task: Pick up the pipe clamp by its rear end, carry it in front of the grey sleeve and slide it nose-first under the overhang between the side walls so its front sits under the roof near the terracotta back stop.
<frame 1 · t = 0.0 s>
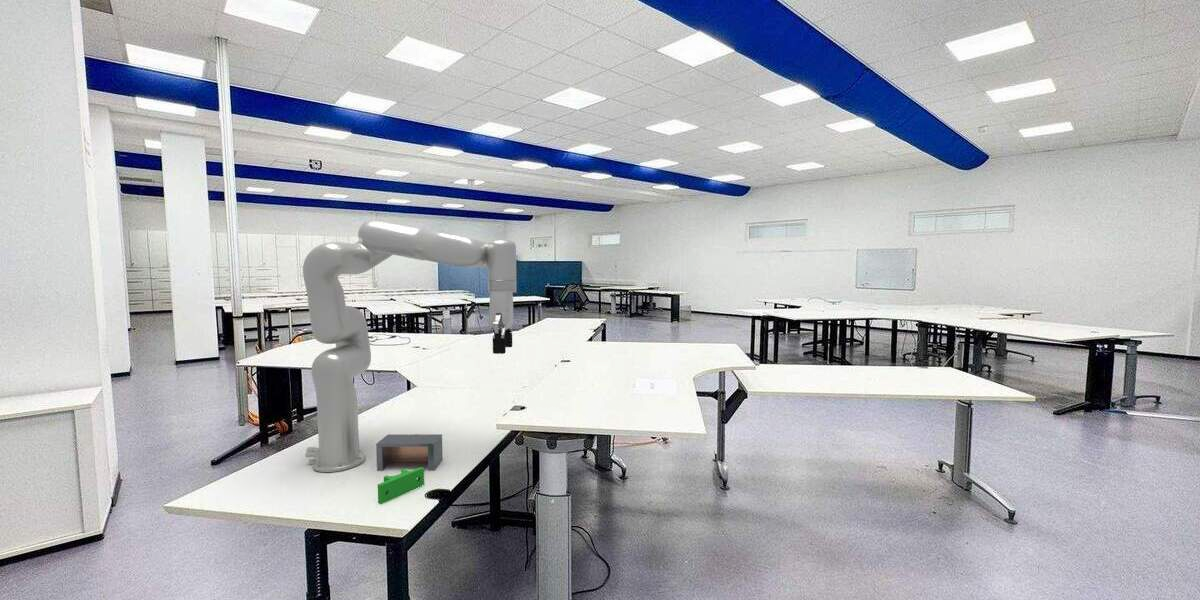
hand: (503, 350, 124), 31 cm above the table, tool pointing down, fingers open, 9 cm apart
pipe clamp: (399, 493, 110), on the table
grey sleeve: (410, 465, 124), on the table
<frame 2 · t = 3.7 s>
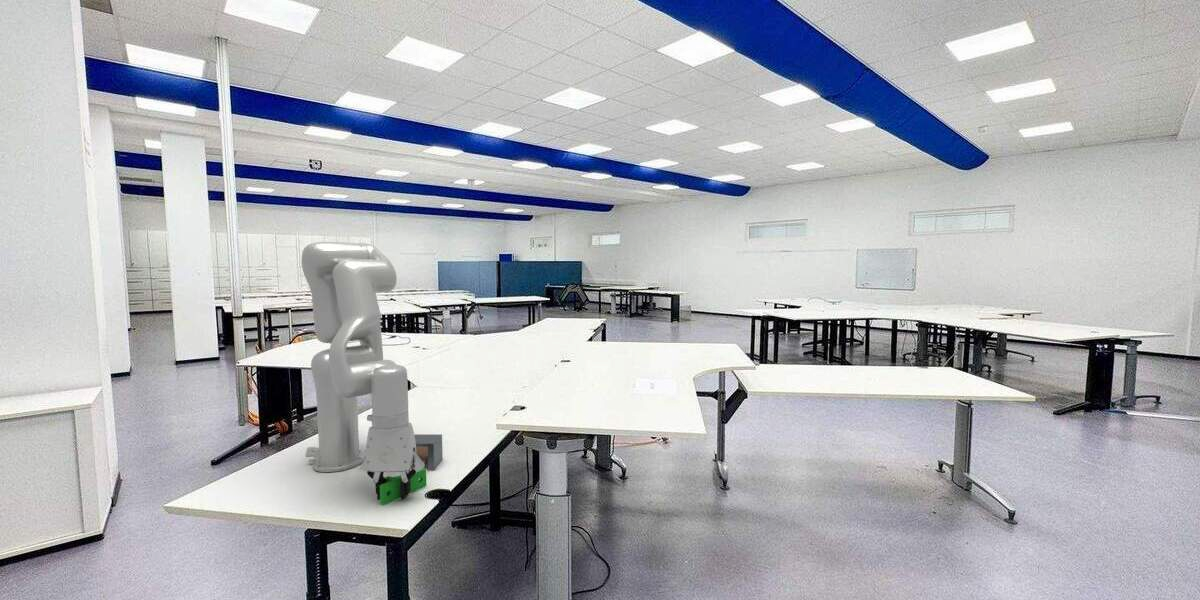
hand: (393, 496, 106), 1 cm above the table, tool pointing down, fingers closed on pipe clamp, 4 cm apart
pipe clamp: (401, 494, 109), on the table, touching gripper
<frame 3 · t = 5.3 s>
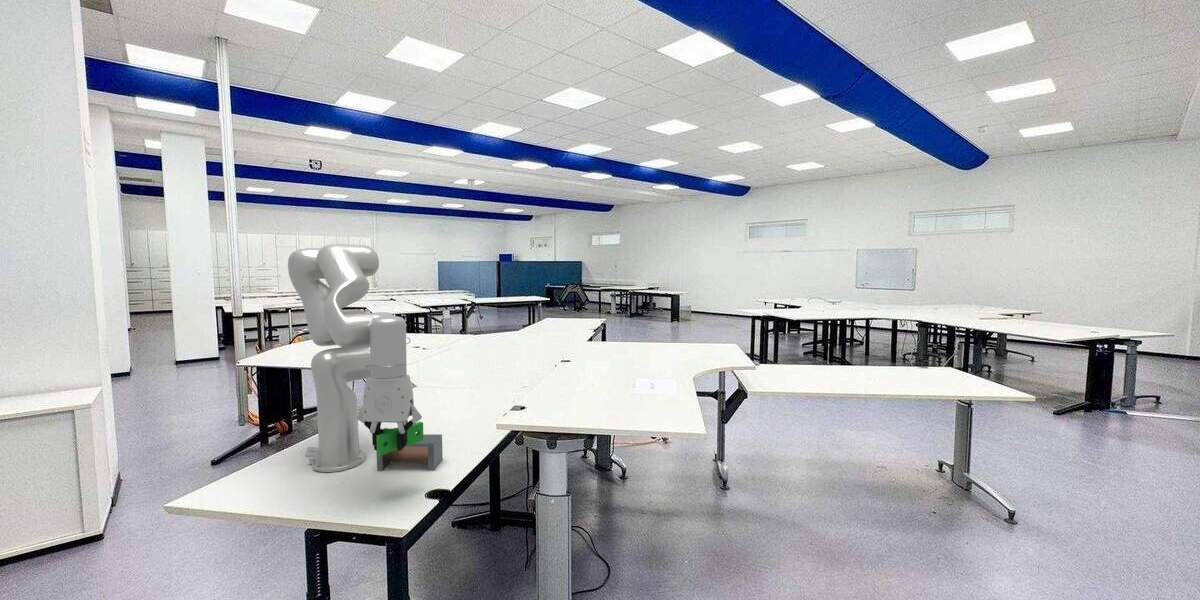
hand: (390, 447, 106), 12 cm above the table, tool pointing down, fingers closed on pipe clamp, 4 cm apart
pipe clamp: (398, 446, 109), point 11 cm above the table, touching gripper
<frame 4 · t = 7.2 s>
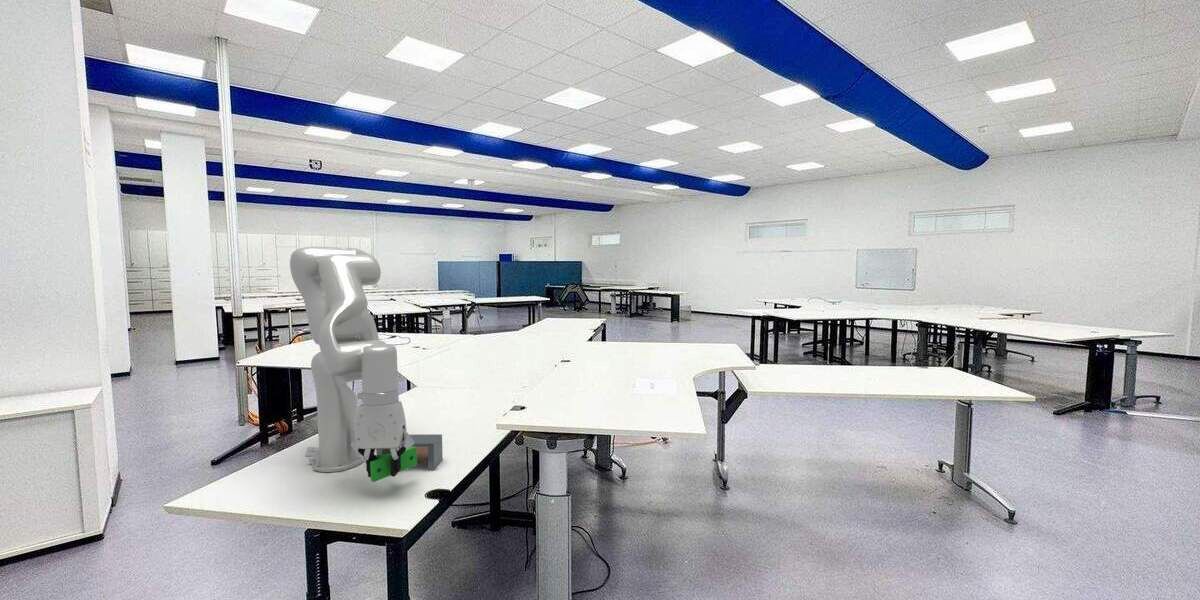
hand: (384, 473, 108), 5 cm above the table, tool pointing down, fingers closed on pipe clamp, 4 cm apart
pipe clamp: (392, 472, 110), point 4 cm above the table, touching gripper
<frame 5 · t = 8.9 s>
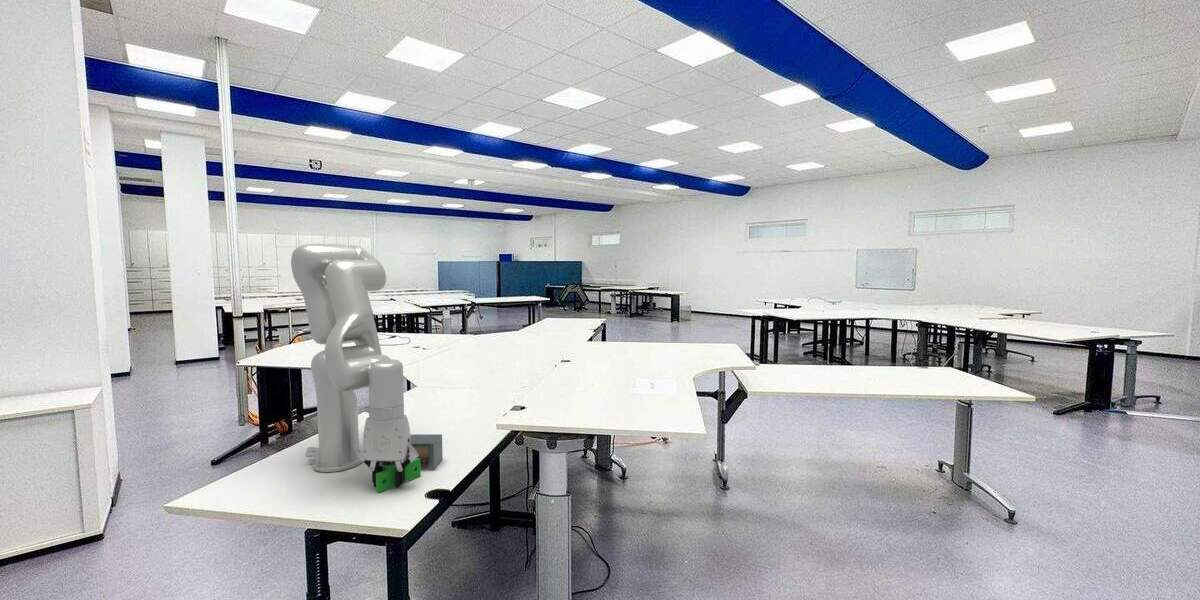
hand: (388, 484, 112), 1 cm above the table, tool pointing down, fingers closed on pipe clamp, 4 cm apart
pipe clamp: (396, 482, 114), on the table, touching gripper
when the fingers open (1 cm above the table, at t = 10.6 s): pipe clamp stays where it is, on the table.
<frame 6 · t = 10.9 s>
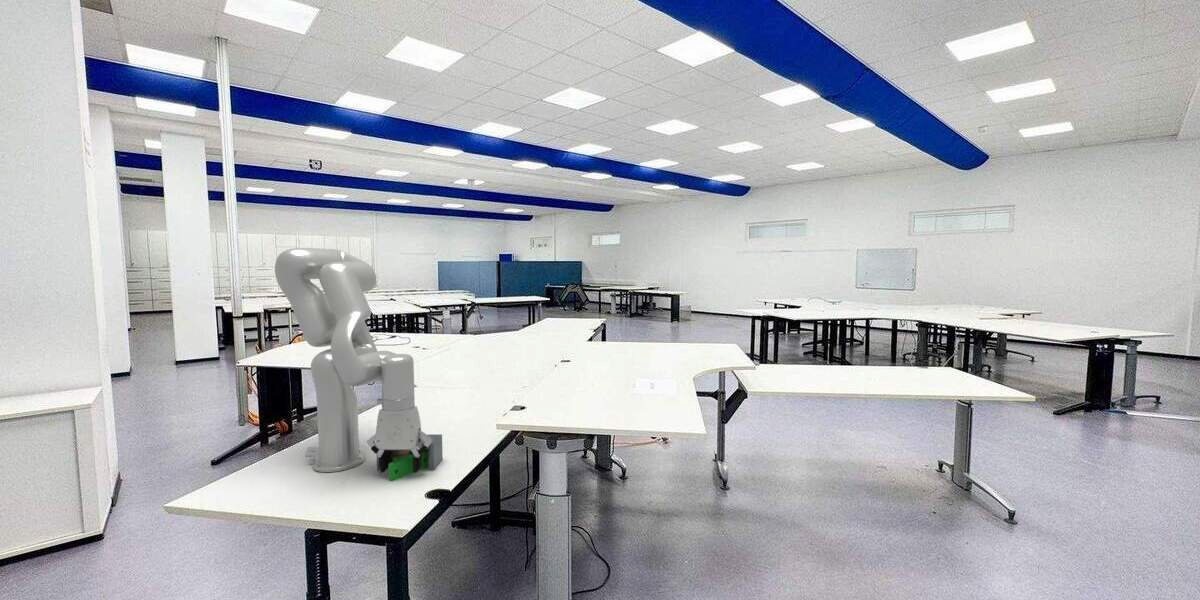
hand: (400, 470, 118), 2 cm above the table, tool pointing down, fingers open, 7 cm apart
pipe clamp: (407, 472, 121), on the table
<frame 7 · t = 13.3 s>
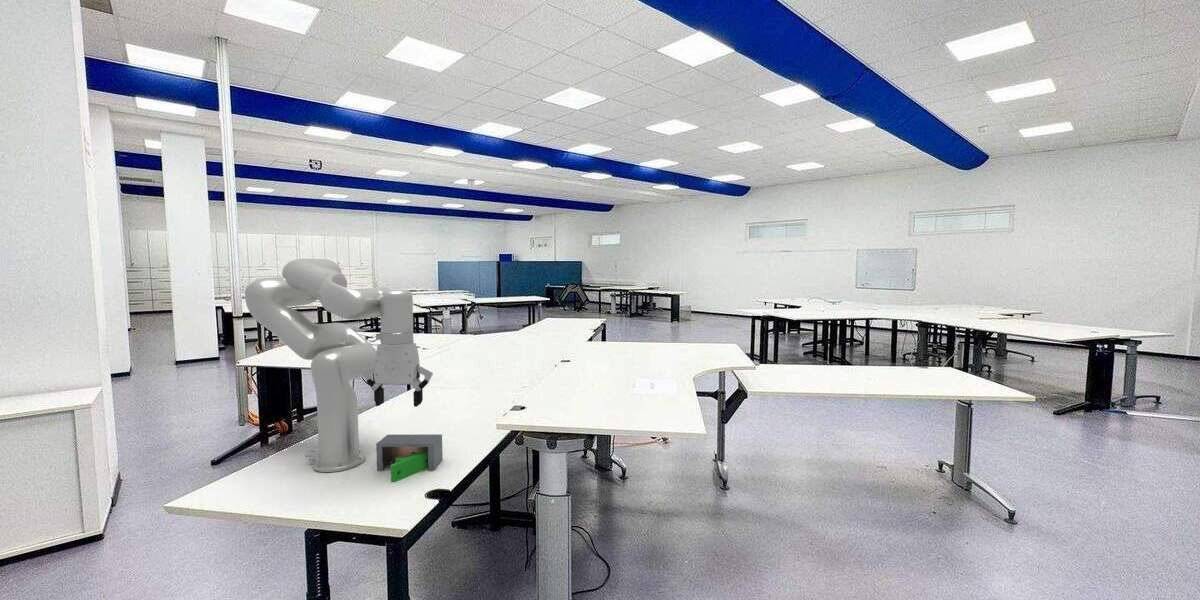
hand: (398, 404, 118), 18 cm above the table, tool pointing down, fingers open, 9 cm apart
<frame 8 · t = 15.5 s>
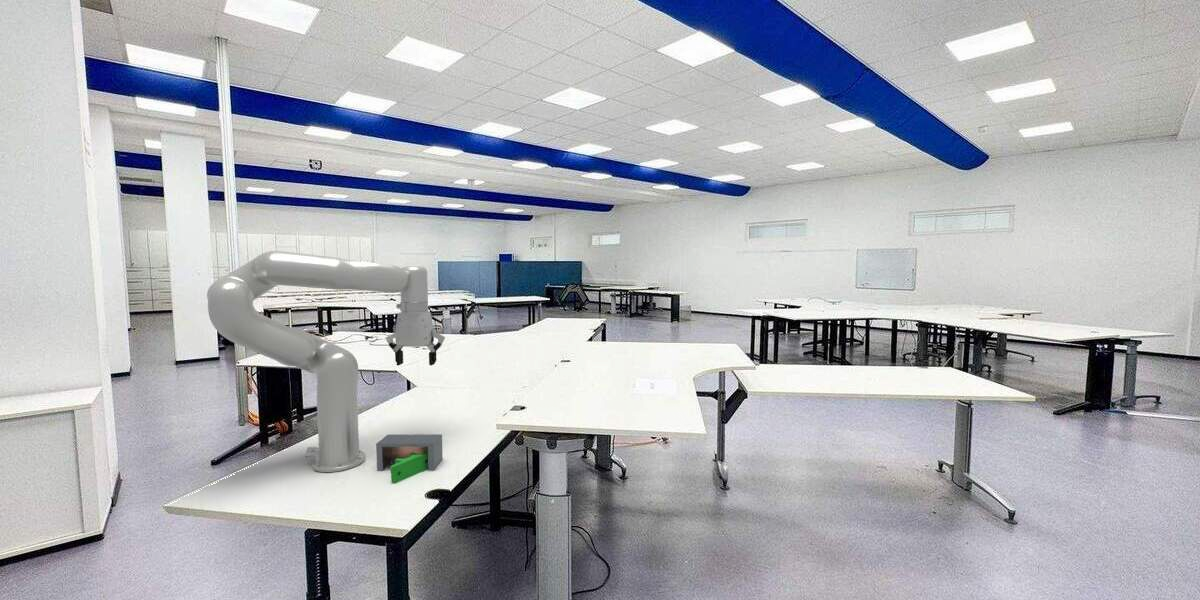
hand: (416, 364, 138), 24 cm above the table, tool pointing down, fingers open, 9 cm apart
at the end: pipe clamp 1.7 cm from the target spot on the grey sleeve, point 0.0 cm above the grey sleeve's base; the gripper is holding nothing; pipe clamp tilted 2° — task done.
